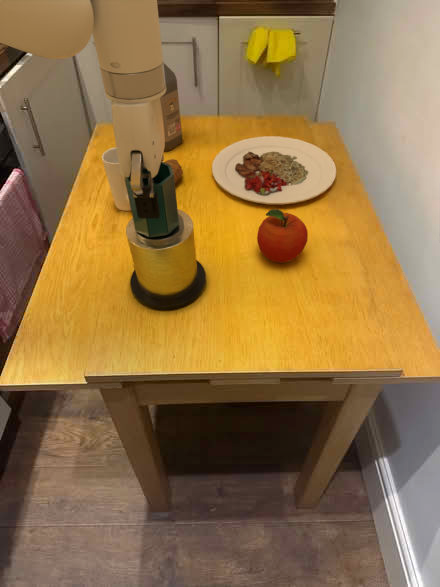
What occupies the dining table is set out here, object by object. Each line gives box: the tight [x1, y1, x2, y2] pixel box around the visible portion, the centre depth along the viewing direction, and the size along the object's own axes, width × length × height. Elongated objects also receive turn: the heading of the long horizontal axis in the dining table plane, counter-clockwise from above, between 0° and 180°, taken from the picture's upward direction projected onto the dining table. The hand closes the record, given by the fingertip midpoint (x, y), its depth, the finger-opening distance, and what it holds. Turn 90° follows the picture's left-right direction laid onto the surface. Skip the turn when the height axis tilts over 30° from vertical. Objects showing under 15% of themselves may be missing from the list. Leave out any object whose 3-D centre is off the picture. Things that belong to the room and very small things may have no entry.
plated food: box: [211, 135, 337, 205], centre depth 99 cm, size 30×30×3 cm
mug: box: [101, 146, 131, 212], centre depth 88 cm, size 10×7×12 cm, turn 23°
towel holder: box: [125, 208, 207, 312], centre depth 71 cm, size 14×14×14 cm
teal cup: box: [125, 161, 179, 237], centre depth 62 cm, size 7×7×9 cm
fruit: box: [256, 208, 309, 264], centre depth 77 cm, size 10×10×10 cm
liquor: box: [160, 61, 183, 152], centre depth 101 cm, size 9×9×30 cm
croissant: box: [164, 158, 183, 185], centre depth 97 cm, size 14×7×5 cm, turn 172°
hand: (153, 200), depth 63 cm, fingers closed on teal cup, 7 cm apart
